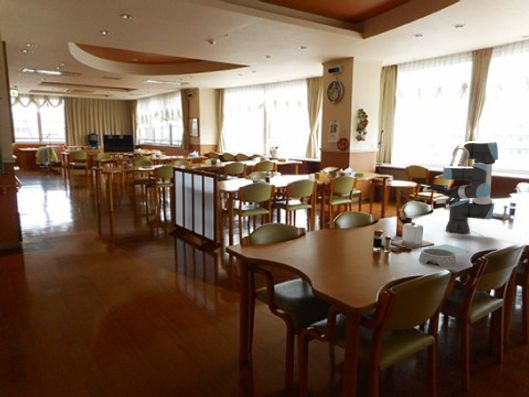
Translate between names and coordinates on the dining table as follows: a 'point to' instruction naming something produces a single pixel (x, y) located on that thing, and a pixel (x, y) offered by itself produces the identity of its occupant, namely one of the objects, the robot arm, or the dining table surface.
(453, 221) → the robot arm
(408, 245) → the walnut board
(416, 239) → the steel cover
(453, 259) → the dog bowl
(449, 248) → the teal mat
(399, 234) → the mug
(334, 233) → the dining table surface
